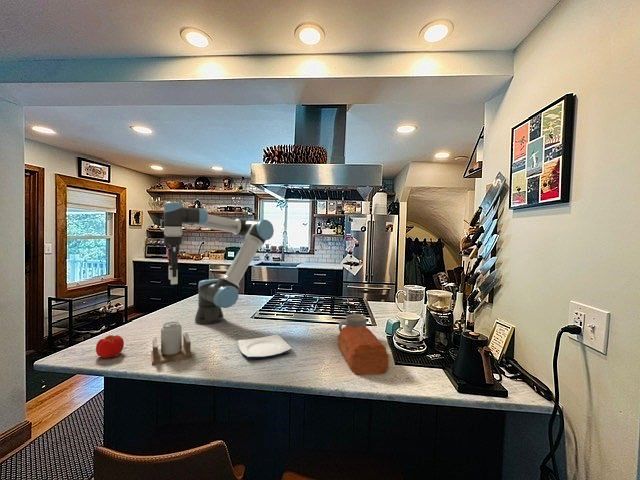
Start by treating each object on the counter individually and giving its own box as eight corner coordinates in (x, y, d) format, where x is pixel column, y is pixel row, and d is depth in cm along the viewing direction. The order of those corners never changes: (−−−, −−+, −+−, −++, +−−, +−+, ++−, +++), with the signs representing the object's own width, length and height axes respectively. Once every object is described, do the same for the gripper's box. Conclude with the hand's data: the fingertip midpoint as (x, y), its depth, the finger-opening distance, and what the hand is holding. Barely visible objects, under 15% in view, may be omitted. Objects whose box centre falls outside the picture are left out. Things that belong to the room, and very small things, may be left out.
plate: (245, 364, 114) (245, 358, 114) (235, 345, 132) (235, 339, 132) (294, 355, 123) (294, 349, 123) (278, 338, 141) (278, 333, 141)
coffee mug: (365, 334, 149) (365, 314, 149) (366, 341, 139) (367, 320, 139) (338, 333, 150) (338, 313, 150) (338, 340, 140) (338, 319, 140)
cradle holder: (188, 346, 129) (188, 331, 129) (192, 357, 119) (192, 341, 118) (151, 353, 122) (151, 337, 121) (151, 365, 111) (151, 347, 111)
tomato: (103, 362, 113) (103, 343, 112) (91, 357, 117) (91, 338, 117) (129, 353, 121) (129, 335, 120) (117, 349, 125) (117, 331, 125)
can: (173, 357, 116) (173, 327, 116) (156, 355, 117) (156, 325, 117) (185, 349, 123) (185, 321, 123) (169, 348, 125) (169, 320, 124)
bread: (369, 345, 135) (369, 322, 135) (391, 374, 109) (392, 345, 108) (335, 346, 133) (336, 323, 132) (350, 376, 106) (351, 347, 106)
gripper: (162, 235, 145) (162, 277, 146) (165, 236, 124) (165, 287, 125) (179, 235, 149) (179, 276, 150) (185, 236, 128) (184, 285, 128)
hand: (172, 281), depth 137 cm, fingers open, 13 cm apart
